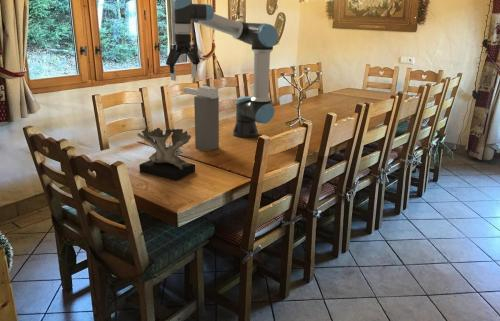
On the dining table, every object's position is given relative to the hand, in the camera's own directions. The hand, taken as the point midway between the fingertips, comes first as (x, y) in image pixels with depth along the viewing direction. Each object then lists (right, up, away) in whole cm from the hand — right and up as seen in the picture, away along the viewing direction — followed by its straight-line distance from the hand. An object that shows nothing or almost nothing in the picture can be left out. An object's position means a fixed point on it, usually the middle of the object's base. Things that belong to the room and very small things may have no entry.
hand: (183, 79), depth 201 cm
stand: (+9, -33, +24) cm, 41 cm away
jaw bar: (+6, -5, +17) cm, 19 cm away
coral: (-6, -46, -15) cm, 49 cm away
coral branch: (-6, -39, +6) cm, 40 cm away
